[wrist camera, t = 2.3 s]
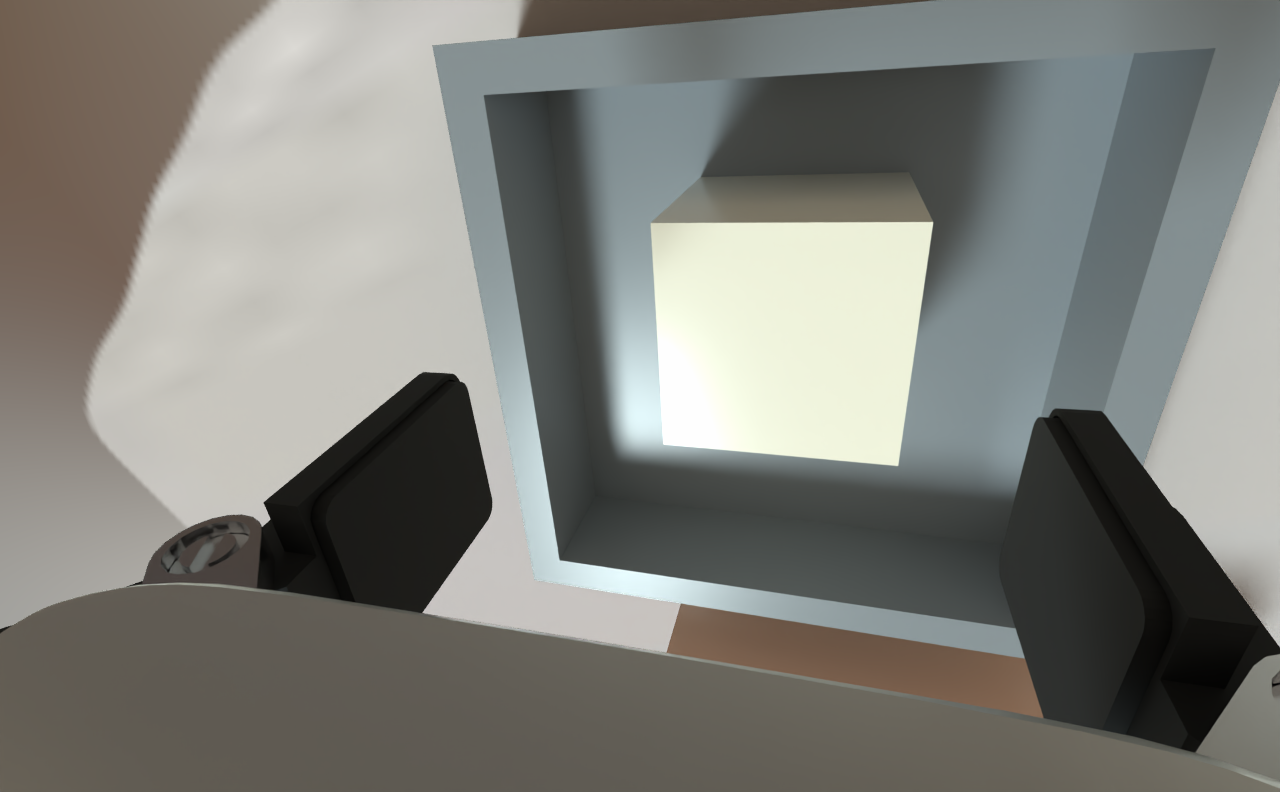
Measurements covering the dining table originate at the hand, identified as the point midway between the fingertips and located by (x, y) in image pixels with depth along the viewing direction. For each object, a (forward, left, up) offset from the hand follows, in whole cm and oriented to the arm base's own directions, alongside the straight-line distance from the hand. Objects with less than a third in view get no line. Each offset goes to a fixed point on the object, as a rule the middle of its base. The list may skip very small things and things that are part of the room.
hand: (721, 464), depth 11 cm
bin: (-1, +2, -12) cm, 12 cm away
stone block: (-1, 0, -11) cm, 11 cm away
